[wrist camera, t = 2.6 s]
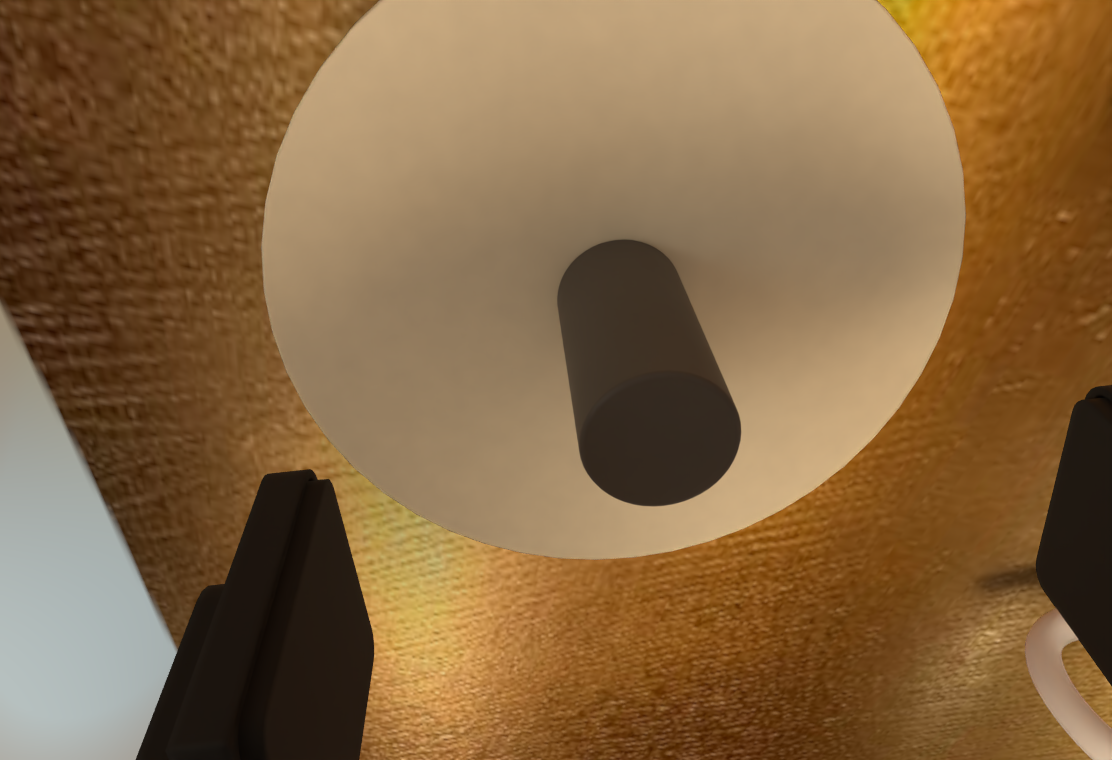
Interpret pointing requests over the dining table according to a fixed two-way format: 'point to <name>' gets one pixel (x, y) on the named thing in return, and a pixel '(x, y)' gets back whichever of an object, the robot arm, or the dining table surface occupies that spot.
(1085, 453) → the robot arm
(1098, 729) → the cup
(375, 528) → the dining table surface
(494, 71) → the lid
